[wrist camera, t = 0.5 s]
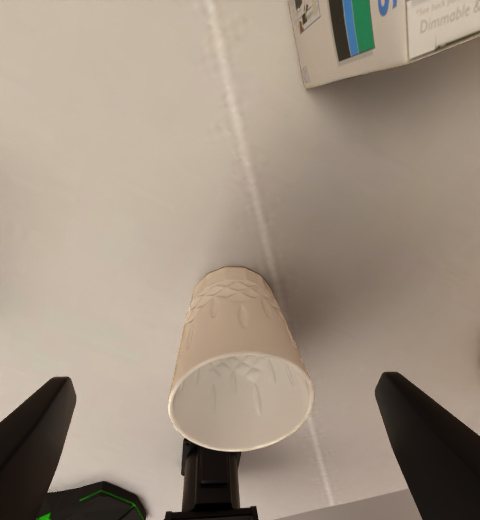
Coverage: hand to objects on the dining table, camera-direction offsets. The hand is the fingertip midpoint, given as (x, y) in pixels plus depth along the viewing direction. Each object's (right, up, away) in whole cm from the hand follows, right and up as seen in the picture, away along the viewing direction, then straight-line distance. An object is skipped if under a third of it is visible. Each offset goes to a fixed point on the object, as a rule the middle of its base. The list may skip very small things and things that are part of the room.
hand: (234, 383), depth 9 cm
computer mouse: (-20, -28, +29) cm, 45 cm away
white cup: (-1, 0, +16) cm, 16 cm away
